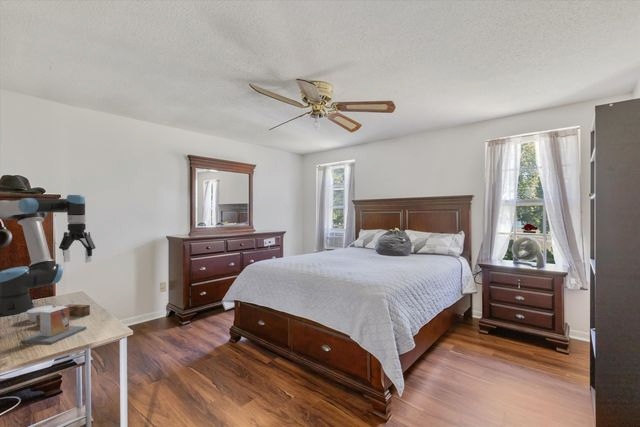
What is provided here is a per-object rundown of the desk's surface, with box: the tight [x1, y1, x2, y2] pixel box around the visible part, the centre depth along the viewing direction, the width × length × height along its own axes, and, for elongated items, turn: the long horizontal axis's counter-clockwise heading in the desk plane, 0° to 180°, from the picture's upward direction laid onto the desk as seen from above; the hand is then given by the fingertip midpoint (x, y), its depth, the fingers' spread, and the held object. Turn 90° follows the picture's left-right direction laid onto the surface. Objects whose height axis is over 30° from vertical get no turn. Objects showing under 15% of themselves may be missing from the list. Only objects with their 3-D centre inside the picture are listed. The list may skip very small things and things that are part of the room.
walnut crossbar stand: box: [36, 303, 91, 327], centre depth 145 cm, size 12×16×5 cm
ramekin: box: [25, 304, 58, 323], centre depth 147 cm, size 11×11×5 cm
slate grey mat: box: [20, 325, 87, 345], centre depth 127 cm, size 15×15×1 cm
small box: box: [39, 305, 70, 337], centre depth 127 cm, size 8×6×10 cm
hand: (77, 262), depth 158 cm, fingers open, 13 cm apart
